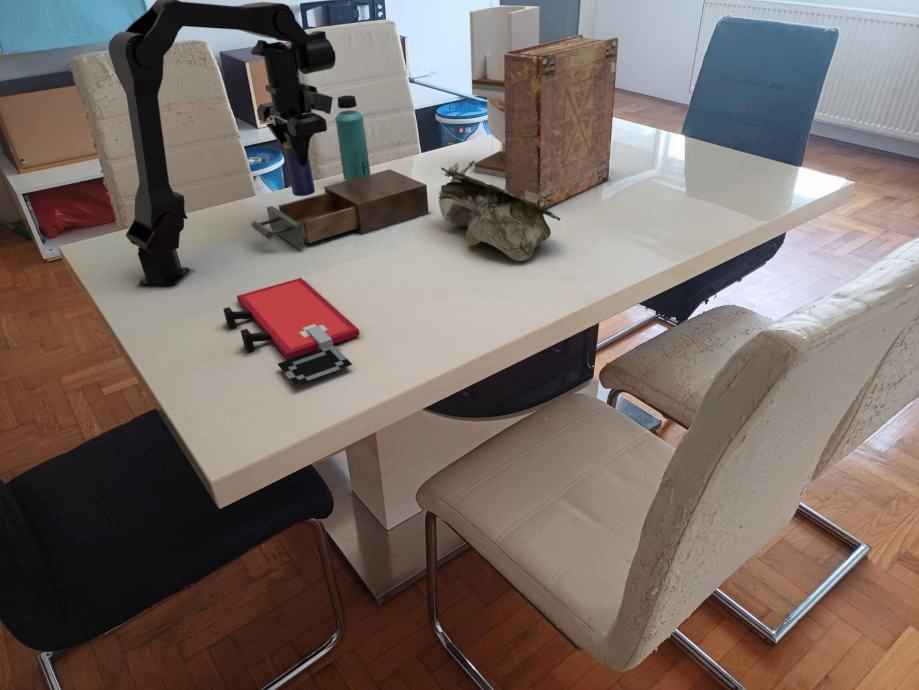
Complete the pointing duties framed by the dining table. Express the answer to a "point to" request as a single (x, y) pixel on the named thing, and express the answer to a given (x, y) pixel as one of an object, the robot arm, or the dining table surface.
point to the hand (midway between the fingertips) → (298, 162)
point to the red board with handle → (296, 328)
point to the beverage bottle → (352, 140)
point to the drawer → (310, 219)
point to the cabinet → (383, 199)
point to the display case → (498, 64)
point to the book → (558, 117)
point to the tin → (299, 173)
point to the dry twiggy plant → (457, 171)
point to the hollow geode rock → (494, 216)
